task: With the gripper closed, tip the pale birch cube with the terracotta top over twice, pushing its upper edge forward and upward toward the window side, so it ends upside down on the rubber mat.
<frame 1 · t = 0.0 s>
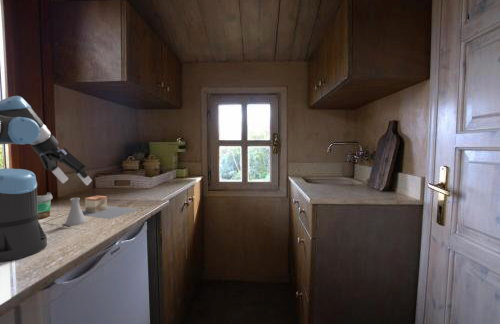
hand: (77, 182, 104), 15 cm above the counter, tool tilted 35°, fingers open, 13 cm apart
food container: (40, 220, 104), on the counter
birch cube: (96, 210, 116), point 1 cm above the counter, touching rubber mat
rubber mat: (106, 212, 114), on the counter
flask: (76, 224, 98), on the counter
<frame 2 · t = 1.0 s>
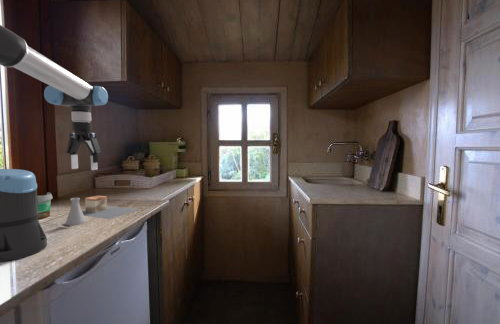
hand: (84, 169, 117), 19 cm above the counter, tool pointing down, fingers open, 12 cm apart
nothing on the counter moved.
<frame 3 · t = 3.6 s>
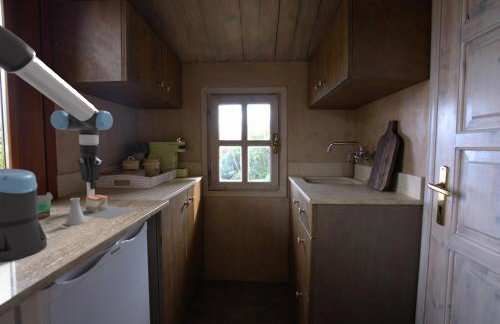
hand: (90, 196, 117), 7 cm above the counter, tool pointing down, fingers closed
birch cube: (96, 209, 116), point 1 cm above the counter, tilted 5°, touching gripper, rubber mat
everything else where it was.
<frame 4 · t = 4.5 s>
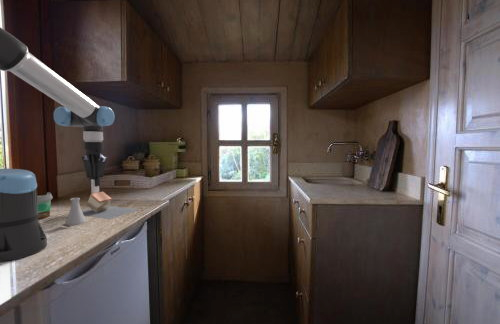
hand: (95, 193, 116), 8 cm above the counter, tool pointing down, fingers closed
birch cube: (97, 207, 116), point 2 cm above the counter, tilted 29°, touching gripper, rubber mat
everything else where it was.
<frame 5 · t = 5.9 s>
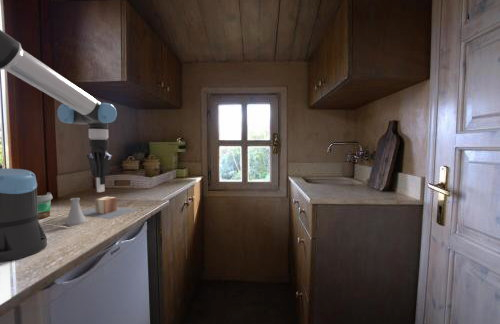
hand: (100, 191, 115), 9 cm above the counter, tool pointing down, fingers closed
birch cube: (101, 204, 115), point 4 cm above the counter, tilted 90°, touching rubber mat
everything else where it was.
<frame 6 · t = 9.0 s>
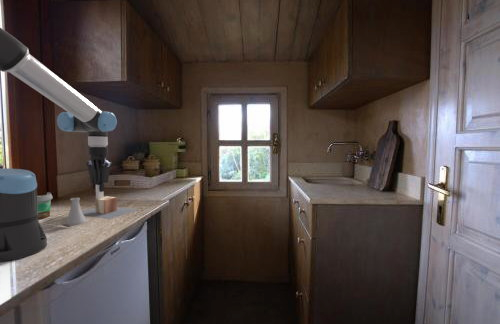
hand: (99, 198, 115), 6 cm above the counter, tool pointing down, fingers closed
birch cube: (101, 204, 115), point 4 cm above the counter, tilted 91°, touching gripper, rubber mat
everything else where it was.
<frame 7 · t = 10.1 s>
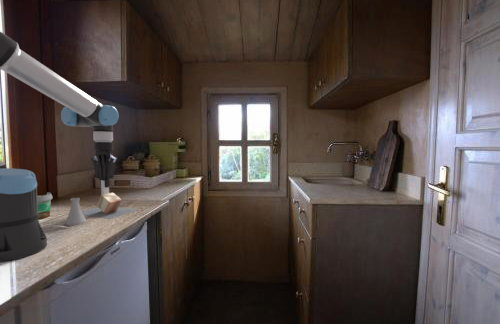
hand: (105, 194, 114), 8 cm above the counter, tool pointing down, fingers closed
birch cube: (104, 199, 114), point 6 cm above the counter, tilted 120°, touching gripper, rubber mat
everything else where it was.
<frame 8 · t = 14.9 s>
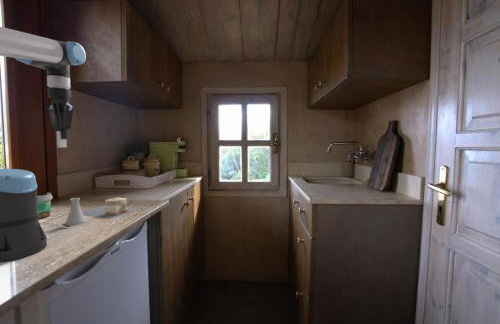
hand: (62, 147, 104), 29 cm above the counter, tool pointing down, fingers closed
birch cube: (116, 199, 112), point 7 cm above the counter, tilted 180°, touching rubber mat
everything else where it was.
at the end: birch cube tilted 180°; birch cube inside the target area (1.5 cm from its centre), point 6.6 cm above the counter; birch cube touching rubber mat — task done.
